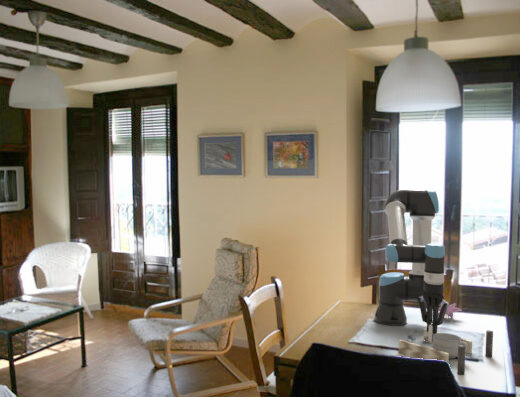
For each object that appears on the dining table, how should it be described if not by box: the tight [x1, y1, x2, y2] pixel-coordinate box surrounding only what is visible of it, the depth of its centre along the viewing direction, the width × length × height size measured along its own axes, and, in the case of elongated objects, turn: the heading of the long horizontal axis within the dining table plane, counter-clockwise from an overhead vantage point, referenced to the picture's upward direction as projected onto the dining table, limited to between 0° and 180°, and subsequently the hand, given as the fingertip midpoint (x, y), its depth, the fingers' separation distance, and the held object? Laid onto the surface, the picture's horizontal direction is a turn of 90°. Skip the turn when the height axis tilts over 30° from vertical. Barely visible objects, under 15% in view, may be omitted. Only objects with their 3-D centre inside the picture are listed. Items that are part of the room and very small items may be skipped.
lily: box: [438, 302, 463, 323], centre depth 240 cm, size 12×12×10 cm
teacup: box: [432, 332, 468, 359], centre depth 190 cm, size 14×11×8 cm
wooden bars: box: [397, 328, 494, 376], centre depth 192 cm, size 27×27×10 cm
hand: (431, 340), depth 195 cm, fingers closed
